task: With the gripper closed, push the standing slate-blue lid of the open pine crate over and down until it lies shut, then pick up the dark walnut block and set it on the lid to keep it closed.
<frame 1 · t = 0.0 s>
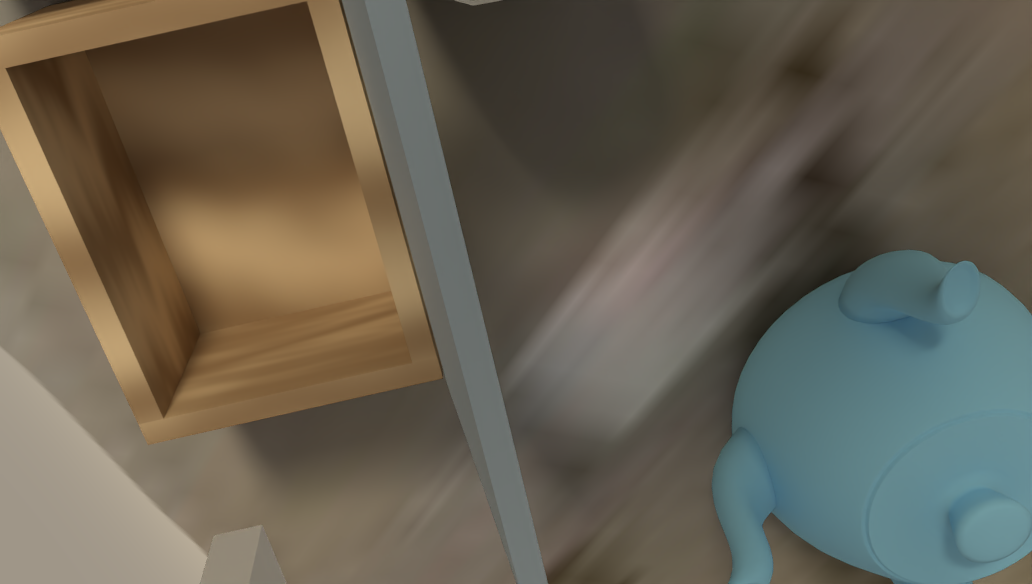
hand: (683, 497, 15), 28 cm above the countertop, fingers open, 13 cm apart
crate: (261, 161, 40), on the countertop
teapot: (844, 379, 49), on the countertop
lid: (432, 251, 27), point 14 cm above the countertop, hinge at 98.0°
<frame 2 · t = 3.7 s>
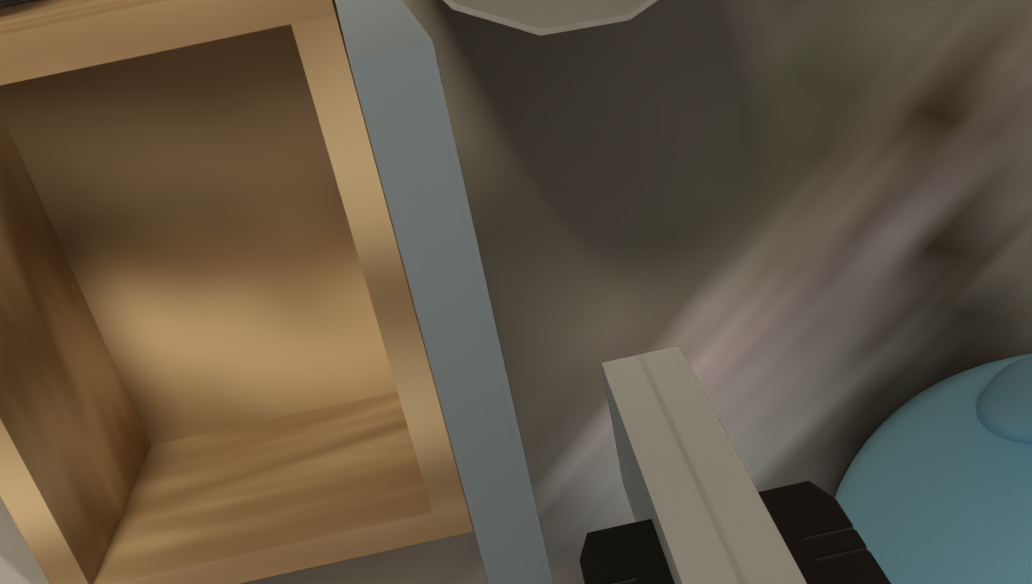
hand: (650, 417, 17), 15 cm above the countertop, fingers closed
crate: (230, 226, 30), on the countertop
teapot: (957, 488, 39), on the countertop
lid: (467, 417, 18), point 14 cm above the countertop, hinge at 95.6°, touching gripper
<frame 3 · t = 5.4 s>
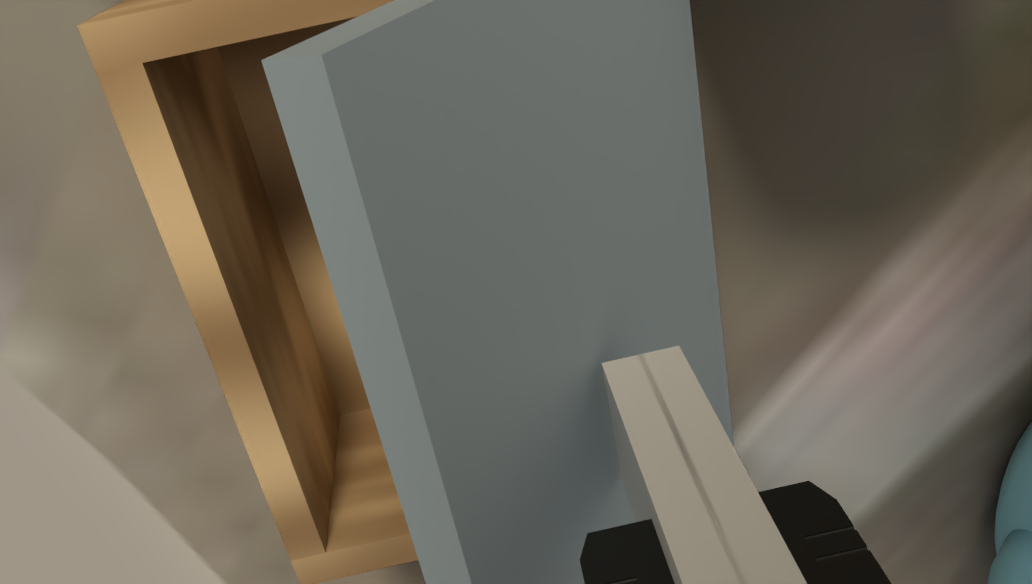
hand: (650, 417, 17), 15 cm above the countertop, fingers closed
crate: (433, 190, 30), on the countertop
lid: (611, 387, 18), point 14 cm above the countertop, hinge at 57.7°, touching gripper
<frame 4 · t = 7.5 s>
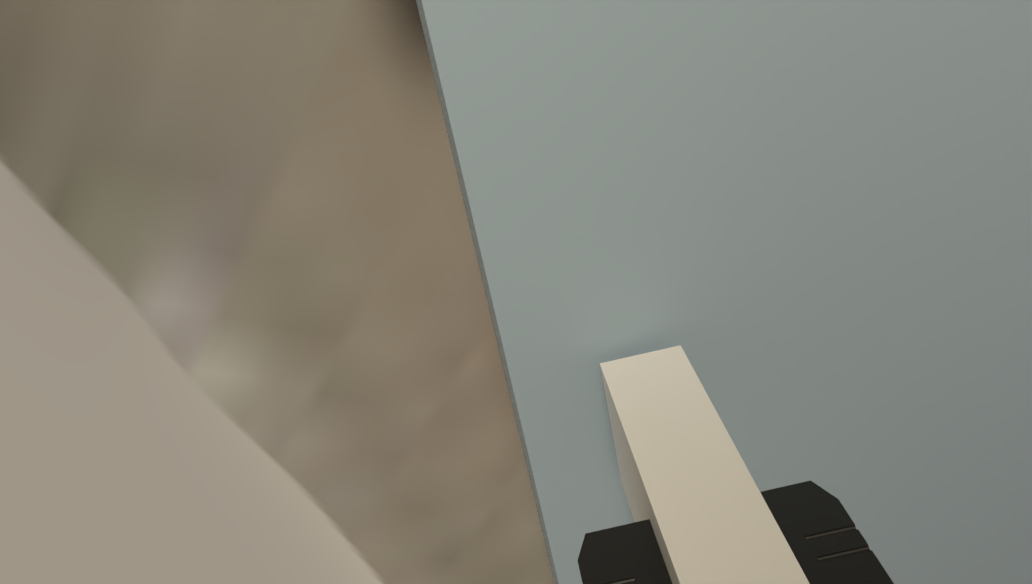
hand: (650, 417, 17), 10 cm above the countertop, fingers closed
lid: (826, 337, 18), point 9 cm above the countertop, hinge at 7.1°, touching gripper
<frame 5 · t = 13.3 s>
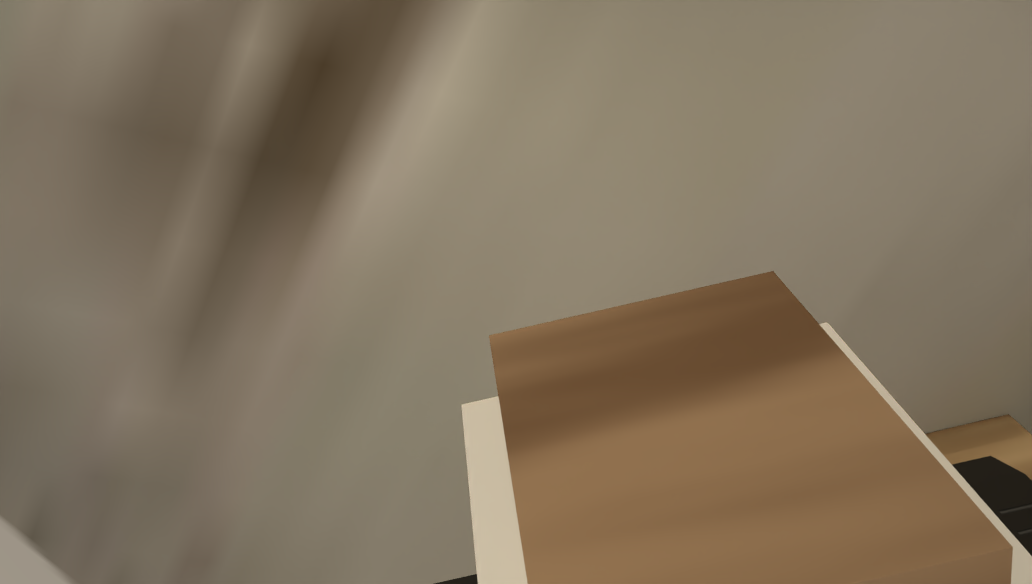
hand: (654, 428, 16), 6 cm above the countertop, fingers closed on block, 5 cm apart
block: (650, 422, 17), point 6 cm above the countertop, touching gripper
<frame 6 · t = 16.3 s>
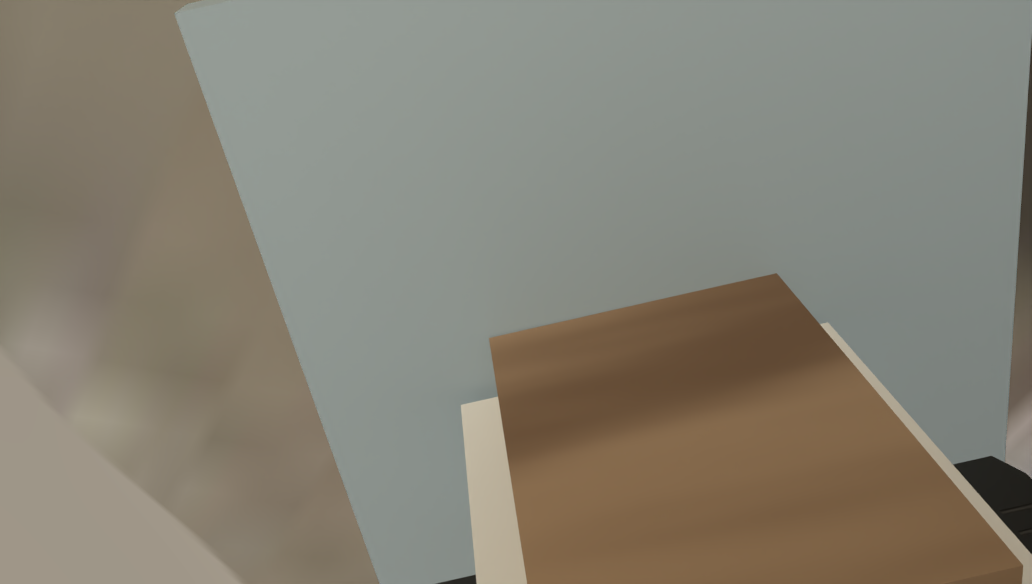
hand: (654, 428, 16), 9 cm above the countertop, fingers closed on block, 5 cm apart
lid: (671, 391, 17), point 8 cm above the countertop, hinge at -0.3°, touching block, gripper
block: (651, 424, 17), point 9 cm above the countertop, touching gripper, lid
when the fingers open (9 cm above the countertop, at t = 16.6 s): block stays where it is, resting on lid.
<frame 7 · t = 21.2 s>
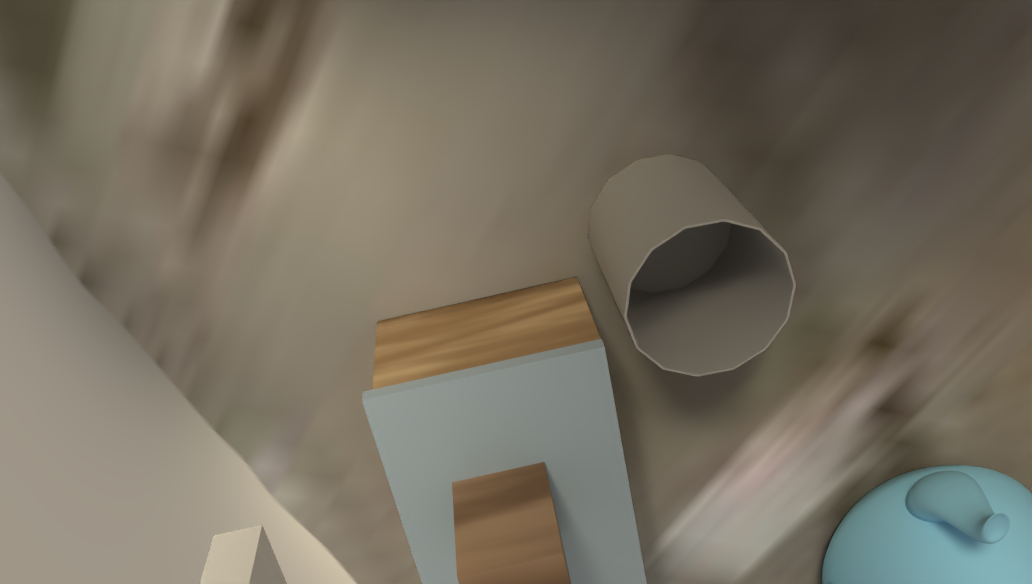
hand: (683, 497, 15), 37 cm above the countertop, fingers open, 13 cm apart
cup: (658, 222, 53), on the countertop
crate: (504, 410, 57), on the countertop
teapot: (902, 538, 66), on the countertop
lid: (514, 496, 50), point 8 cm above the countertop, hinge at -0.3°, touching block
block: (507, 508, 49), point 9 cm above the countertop, touching lid
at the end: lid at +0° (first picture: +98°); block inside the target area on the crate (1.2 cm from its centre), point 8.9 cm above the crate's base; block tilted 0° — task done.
